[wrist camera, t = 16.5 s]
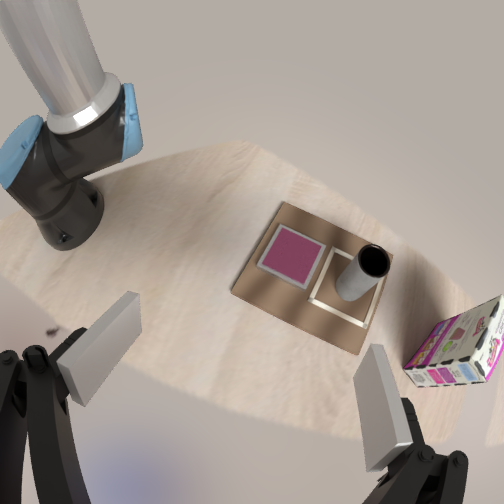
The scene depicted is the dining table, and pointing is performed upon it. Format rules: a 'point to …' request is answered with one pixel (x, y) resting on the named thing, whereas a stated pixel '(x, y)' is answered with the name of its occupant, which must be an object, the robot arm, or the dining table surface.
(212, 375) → the dining table surface
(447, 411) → the dining table surface
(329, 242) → the walnut board
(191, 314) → the dining table surface
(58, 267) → the dining table surface
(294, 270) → the ink pad
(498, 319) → the candy bar box
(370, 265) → the gray cylinder
